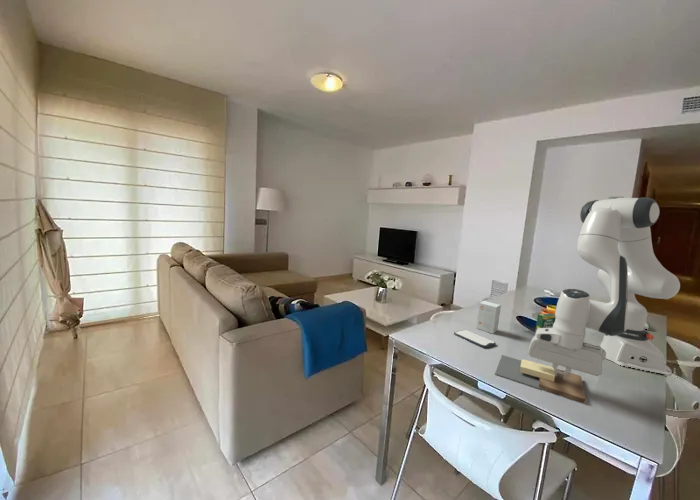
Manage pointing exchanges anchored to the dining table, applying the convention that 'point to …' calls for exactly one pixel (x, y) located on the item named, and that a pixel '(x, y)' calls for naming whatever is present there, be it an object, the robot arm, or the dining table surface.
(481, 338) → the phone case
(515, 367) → the mat
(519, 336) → the dining table surface
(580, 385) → the brown flat block
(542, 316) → the coffee box
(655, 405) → the dining table surface
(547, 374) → the tile
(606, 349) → the robot arm
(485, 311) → the small box
